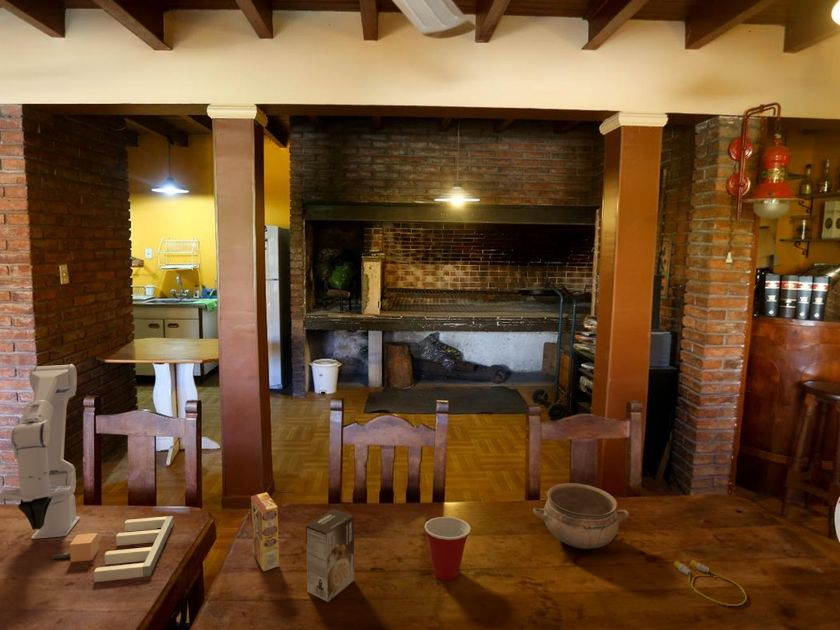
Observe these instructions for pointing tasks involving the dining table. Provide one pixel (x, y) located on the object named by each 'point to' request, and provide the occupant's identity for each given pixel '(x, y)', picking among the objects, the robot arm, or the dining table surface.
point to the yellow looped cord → (702, 568)
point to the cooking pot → (581, 515)
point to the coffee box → (330, 554)
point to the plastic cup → (446, 545)
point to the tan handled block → (81, 548)
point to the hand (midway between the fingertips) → (38, 527)
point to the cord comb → (138, 554)
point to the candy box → (265, 531)
